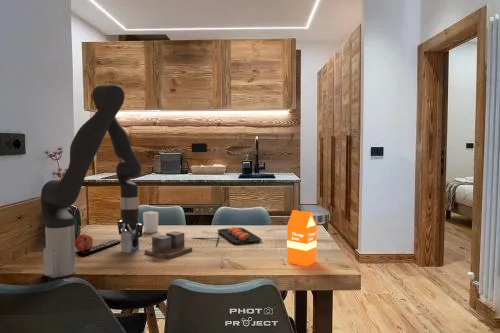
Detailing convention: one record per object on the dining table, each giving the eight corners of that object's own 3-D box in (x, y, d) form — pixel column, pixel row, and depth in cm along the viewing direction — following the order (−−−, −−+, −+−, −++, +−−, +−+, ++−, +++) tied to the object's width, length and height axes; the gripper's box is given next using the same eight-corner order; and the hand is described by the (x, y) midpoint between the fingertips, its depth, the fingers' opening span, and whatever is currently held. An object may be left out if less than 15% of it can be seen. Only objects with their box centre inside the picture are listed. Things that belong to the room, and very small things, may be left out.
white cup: (140, 232, 200) (139, 213, 199) (148, 229, 207) (148, 211, 207) (153, 233, 197) (153, 214, 197) (161, 230, 205) (161, 211, 204)
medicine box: (130, 253, 162) (130, 233, 161) (120, 252, 163) (120, 232, 162) (139, 248, 170) (139, 228, 169) (130, 247, 171) (130, 228, 170)
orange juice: (297, 257, 156) (297, 208, 155) (316, 261, 151) (317, 211, 149) (286, 262, 150) (286, 211, 149) (306, 266, 145) (306, 213, 143)
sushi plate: (263, 243, 179) (263, 235, 179) (200, 250, 168) (200, 241, 168) (241, 230, 206) (241, 223, 206) (186, 235, 195) (186, 228, 195)
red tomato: (72, 255, 166) (73, 246, 159) (74, 240, 170) (75, 230, 163) (91, 255, 169) (93, 246, 162) (92, 240, 173) (94, 230, 166)
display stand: (192, 251, 165) (192, 233, 165) (168, 259, 154) (168, 240, 153) (168, 246, 173) (168, 229, 173) (144, 253, 161) (144, 236, 161)
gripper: (111, 206, 166) (112, 245, 167) (133, 210, 158) (134, 250, 159) (125, 204, 172) (126, 241, 173) (147, 207, 164) (148, 246, 165)
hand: (130, 245), depth 166 cm, fingers closed on medicine box, 5 cm apart
